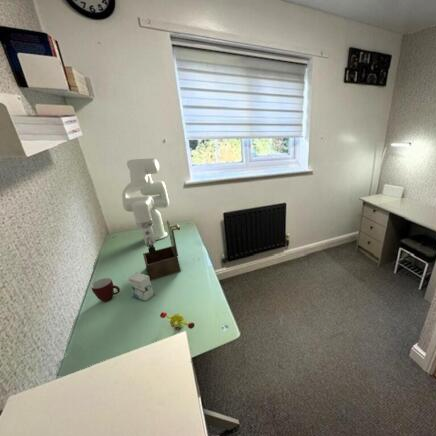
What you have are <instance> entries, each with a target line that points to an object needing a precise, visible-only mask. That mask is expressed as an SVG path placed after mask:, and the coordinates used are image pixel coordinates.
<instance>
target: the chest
mask: <svg viewBox="0 0 436 436" xmlns="http://www.w3.org/2000/svg"><path fill="white" fill-rule="evenodd" d="M155 250H156V253H155V254H152V255H150V254H149V251H148V252H144V253H142V256H143V260H144V264H145V268H146V271H147V276H149V278H150V282H151V281H154V280H157V279H160V278H164V277H166V276H170V275H172V274H176V273H179V272H181V266H180V262H179V256H176V254H175V252H174V250H173V247H172V245H170V246H165V247H163V248H159V249H155ZM159 259H164V260H162V261H158V262H155V263H153V262H154V261H156V260H159Z"/></svg>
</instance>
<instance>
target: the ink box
mask: <svg viewBox="0 0 436 436" xmlns="http://www.w3.org/2000/svg"><path fill="white" fill-rule="evenodd" d="M128 281H129V285H130V288H131V292H132V295H133V297H134V298H135V299H139V300H143V301H148V300H150V299H151V298H152V297H153V296H154V291H153V287H152V282H151V281H150V278H149V275H148V274H143V273H140V272H135V273H134V274H132V275H130V276H129V277H128Z"/></svg>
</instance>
